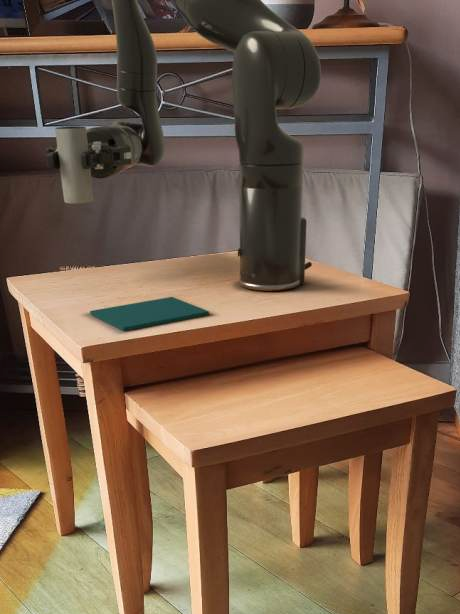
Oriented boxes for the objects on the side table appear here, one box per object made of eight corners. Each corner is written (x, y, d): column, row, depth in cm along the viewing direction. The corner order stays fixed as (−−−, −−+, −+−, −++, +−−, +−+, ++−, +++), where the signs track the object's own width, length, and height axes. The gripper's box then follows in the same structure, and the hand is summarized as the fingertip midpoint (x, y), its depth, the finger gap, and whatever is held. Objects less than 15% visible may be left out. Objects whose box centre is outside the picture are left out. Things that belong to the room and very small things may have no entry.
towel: (172, 300, 108) (171, 296, 108) (209, 314, 101) (209, 311, 101) (90, 314, 102) (89, 310, 102) (123, 331, 95) (123, 327, 95)
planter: (95, 199, 118) (87, 126, 112) (92, 203, 114) (84, 127, 108) (66, 200, 117) (57, 127, 112) (62, 204, 113) (52, 128, 108)
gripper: (63, 126, 124) (18, 133, 110) (145, 125, 121) (110, 132, 107) (69, 175, 128) (26, 188, 113) (149, 175, 125) (115, 188, 111)
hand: (67, 161), depth 110 cm, fingers closed on planter, 4 cm apart
